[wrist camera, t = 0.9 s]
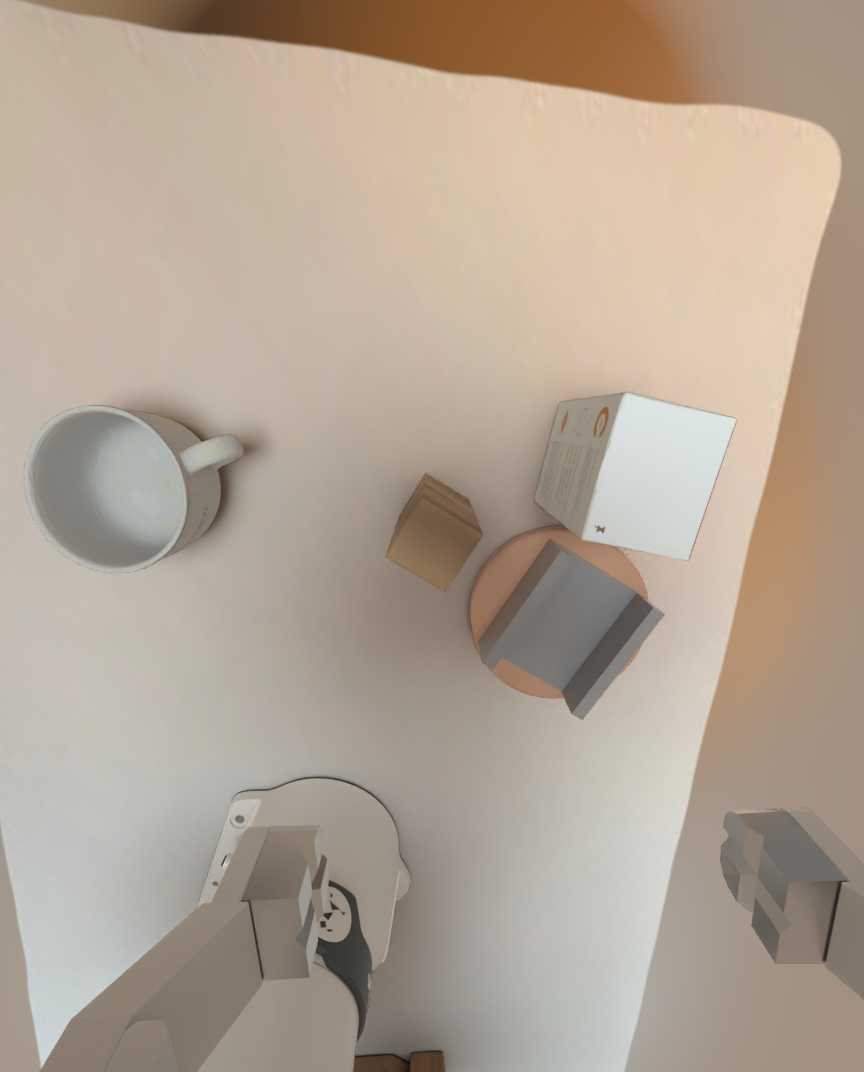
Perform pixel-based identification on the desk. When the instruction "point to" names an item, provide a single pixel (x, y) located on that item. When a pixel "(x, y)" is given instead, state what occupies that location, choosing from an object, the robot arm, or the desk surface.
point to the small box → (633, 471)
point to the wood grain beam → (434, 533)
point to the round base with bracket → (560, 615)
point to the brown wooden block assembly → (401, 1063)
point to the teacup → (123, 485)
